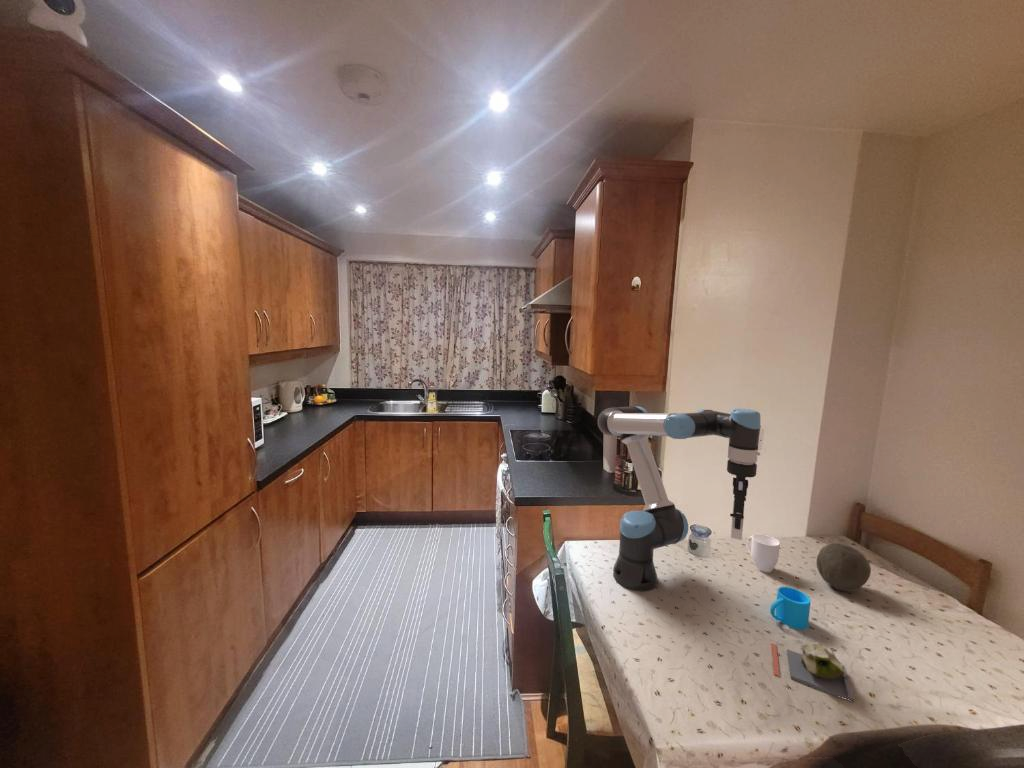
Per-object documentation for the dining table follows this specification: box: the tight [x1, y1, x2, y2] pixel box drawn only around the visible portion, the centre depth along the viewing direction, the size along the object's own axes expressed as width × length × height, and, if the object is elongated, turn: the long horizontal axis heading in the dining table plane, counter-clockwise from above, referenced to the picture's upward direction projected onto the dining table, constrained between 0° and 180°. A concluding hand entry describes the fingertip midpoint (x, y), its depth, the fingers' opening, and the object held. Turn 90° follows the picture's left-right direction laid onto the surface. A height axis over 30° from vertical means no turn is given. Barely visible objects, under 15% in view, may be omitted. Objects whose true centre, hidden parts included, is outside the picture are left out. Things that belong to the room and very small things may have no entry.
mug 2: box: [769, 586, 812, 630], centre depth 116 cm, size 12×8×8 cm
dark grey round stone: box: [815, 543, 872, 592], centre depth 132 cm, size 14×14×15 cm
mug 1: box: [745, 533, 781, 573], centre depth 144 cm, size 12×9×12 cm
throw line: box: [770, 642, 781, 678], centre depth 101 cm, size 1×12×1 cm, turn 149°
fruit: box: [800, 641, 849, 679], centre depth 96 cm, size 9×9×8 cm
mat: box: [786, 649, 855, 703], centre depth 96 cm, size 12×10×2 cm
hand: (736, 529), depth 114 cm, fingers open, 13 cm apart
